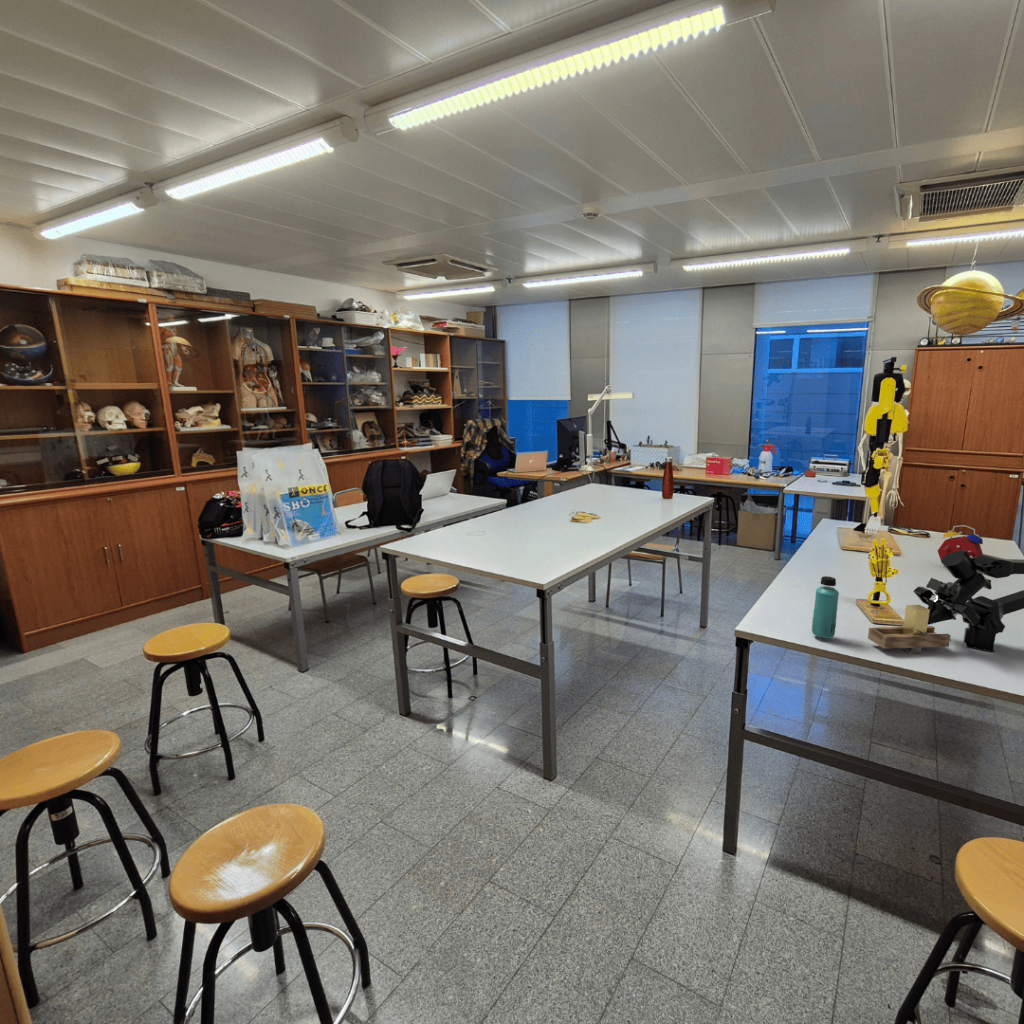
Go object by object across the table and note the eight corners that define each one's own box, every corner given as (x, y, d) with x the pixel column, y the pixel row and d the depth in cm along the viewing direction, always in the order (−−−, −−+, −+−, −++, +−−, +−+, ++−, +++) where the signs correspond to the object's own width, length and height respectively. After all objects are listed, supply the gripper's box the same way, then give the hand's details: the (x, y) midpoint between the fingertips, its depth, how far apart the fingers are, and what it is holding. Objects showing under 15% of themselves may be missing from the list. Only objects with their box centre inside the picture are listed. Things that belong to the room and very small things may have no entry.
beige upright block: (911, 631, 169) (915, 603, 167) (928, 640, 163) (933, 611, 161) (899, 631, 169) (903, 603, 167) (915, 640, 162) (920, 611, 160)
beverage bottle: (831, 644, 169) (838, 582, 165) (807, 638, 174) (814, 577, 170) (836, 637, 174) (843, 577, 170) (813, 632, 178) (819, 572, 174)
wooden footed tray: (929, 642, 170) (931, 625, 169) (947, 652, 164) (950, 635, 162) (866, 644, 169) (869, 627, 168) (883, 654, 162) (885, 637, 161)
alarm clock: (981, 572, 240) (988, 527, 236) (973, 575, 235) (981, 530, 231) (940, 564, 252) (946, 521, 248) (932, 567, 247) (939, 523, 243)
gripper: (923, 561, 171) (884, 595, 173) (977, 580, 153) (933, 618, 154) (943, 585, 173) (905, 618, 175) (998, 606, 155) (955, 644, 156)
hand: (923, 624), depth 165 cm, fingers closed
